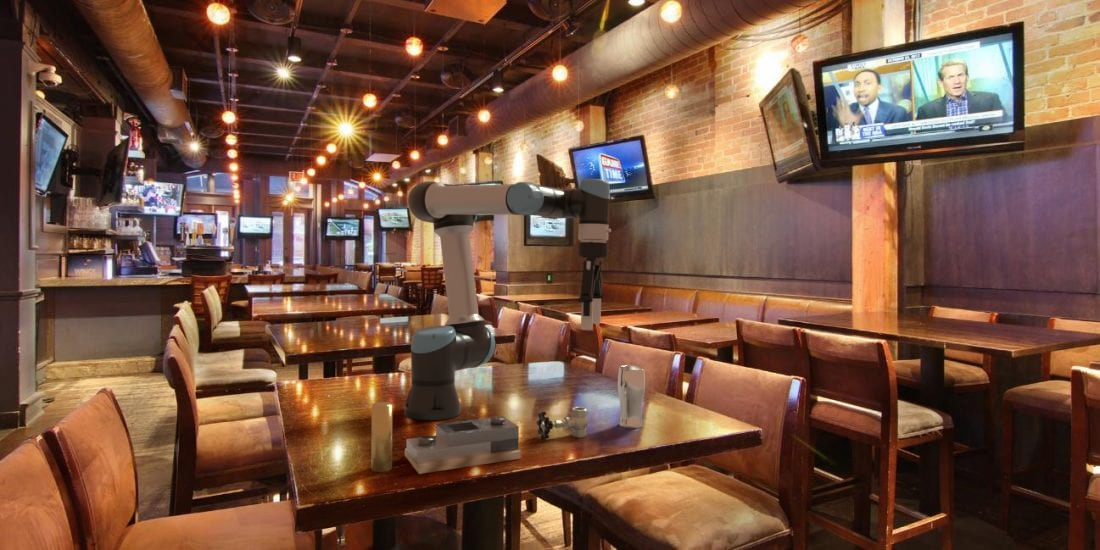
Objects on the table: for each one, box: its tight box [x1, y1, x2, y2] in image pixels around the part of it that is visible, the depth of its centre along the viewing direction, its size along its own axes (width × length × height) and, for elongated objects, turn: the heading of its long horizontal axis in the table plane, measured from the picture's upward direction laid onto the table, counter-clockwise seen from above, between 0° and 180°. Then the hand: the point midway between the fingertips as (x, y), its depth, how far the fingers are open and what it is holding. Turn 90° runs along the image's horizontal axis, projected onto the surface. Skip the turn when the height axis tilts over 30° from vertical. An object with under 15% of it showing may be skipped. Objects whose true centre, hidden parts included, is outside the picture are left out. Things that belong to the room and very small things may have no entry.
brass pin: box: [370, 401, 393, 473], centre depth 120 cm, size 4×4×13 cm
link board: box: [404, 448, 522, 475], centre depth 127 cm, size 22×12×2 cm, turn 117°
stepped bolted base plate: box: [405, 415, 520, 464], centre depth 127 cm, size 22×9×6 cm, turn 117°
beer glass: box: [617, 364, 646, 429], centre depth 154 cm, size 7×7×15 cm
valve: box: [536, 406, 589, 440], centre depth 143 cm, size 7×7×12 cm
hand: (591, 326), depth 149 cm, fingers open, 13 cm apart
